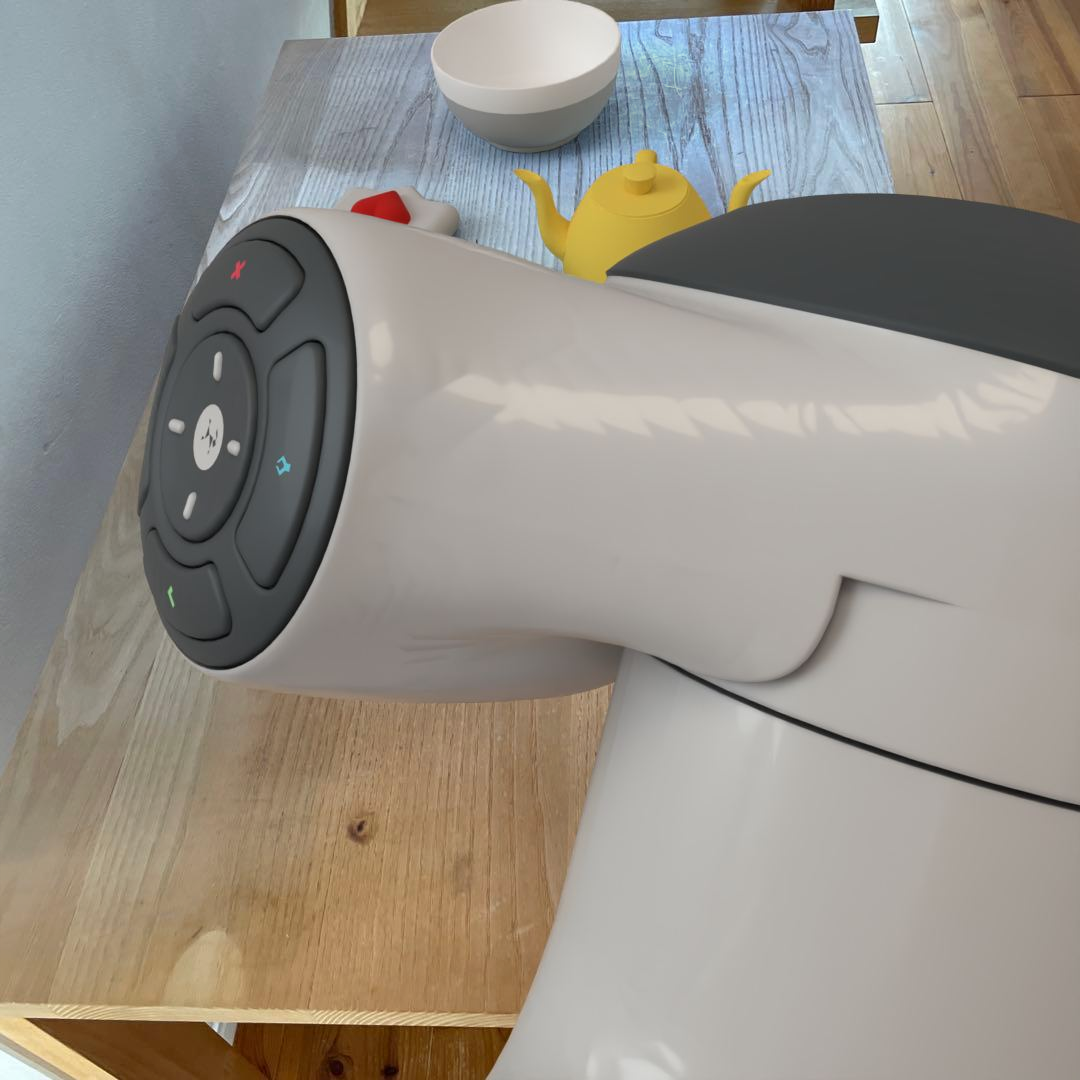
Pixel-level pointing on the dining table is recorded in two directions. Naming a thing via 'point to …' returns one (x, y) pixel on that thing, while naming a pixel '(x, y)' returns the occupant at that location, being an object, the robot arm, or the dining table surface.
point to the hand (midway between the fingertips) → (865, 546)
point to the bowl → (528, 71)
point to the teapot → (624, 213)
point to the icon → (401, 208)
